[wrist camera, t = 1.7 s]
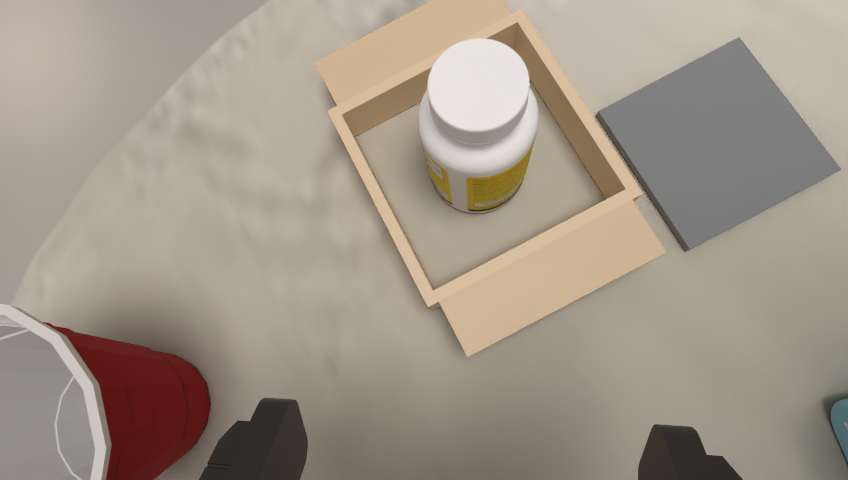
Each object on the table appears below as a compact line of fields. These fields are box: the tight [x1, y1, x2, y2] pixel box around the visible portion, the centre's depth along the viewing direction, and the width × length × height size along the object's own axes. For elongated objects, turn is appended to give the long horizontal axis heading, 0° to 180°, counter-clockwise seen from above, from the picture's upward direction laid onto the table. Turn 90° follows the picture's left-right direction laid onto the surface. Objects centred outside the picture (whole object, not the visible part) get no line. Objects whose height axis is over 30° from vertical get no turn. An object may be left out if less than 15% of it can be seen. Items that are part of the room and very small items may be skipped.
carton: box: [315, 0, 666, 357], centre depth 27 cm, size 12×18×3 cm, turn 27°
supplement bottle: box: [418, 38, 539, 213], centre depth 24 cm, size 5×5×10 cm
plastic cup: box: [0, 304, 210, 480], centre depth 22 cm, size 11×11×12 cm
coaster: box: [596, 37, 841, 251], centre depth 27 cm, size 9×9×1 cm
